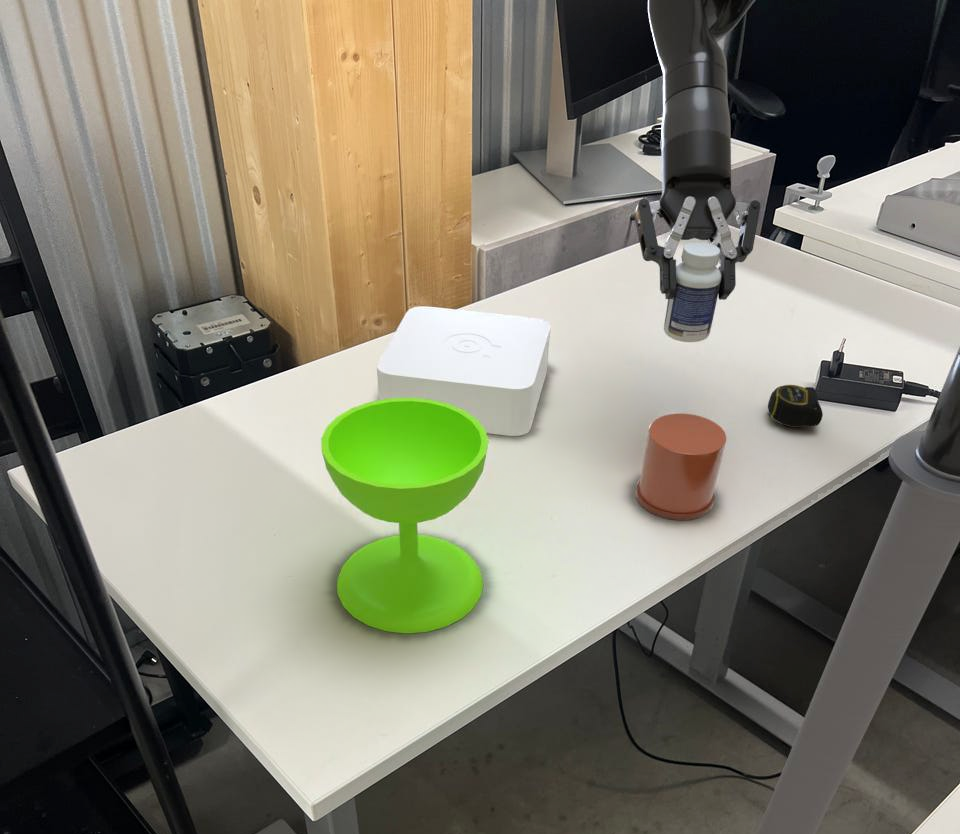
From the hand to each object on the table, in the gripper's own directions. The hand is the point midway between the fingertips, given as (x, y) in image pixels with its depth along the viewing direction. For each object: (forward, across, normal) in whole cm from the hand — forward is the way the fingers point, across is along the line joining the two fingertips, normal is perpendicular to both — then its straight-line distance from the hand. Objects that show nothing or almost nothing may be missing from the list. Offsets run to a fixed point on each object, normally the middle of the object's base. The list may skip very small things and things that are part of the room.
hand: (697, 296), depth 102 cm
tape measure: (+7, +21, +25) cm, 33 cm away
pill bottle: (+3, 0, +5) cm, 6 cm away
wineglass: (+32, -32, 0) cm, 45 cm away
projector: (+2, -25, +30) cm, 39 cm away
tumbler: (+20, 0, +12) cm, 23 cm away
